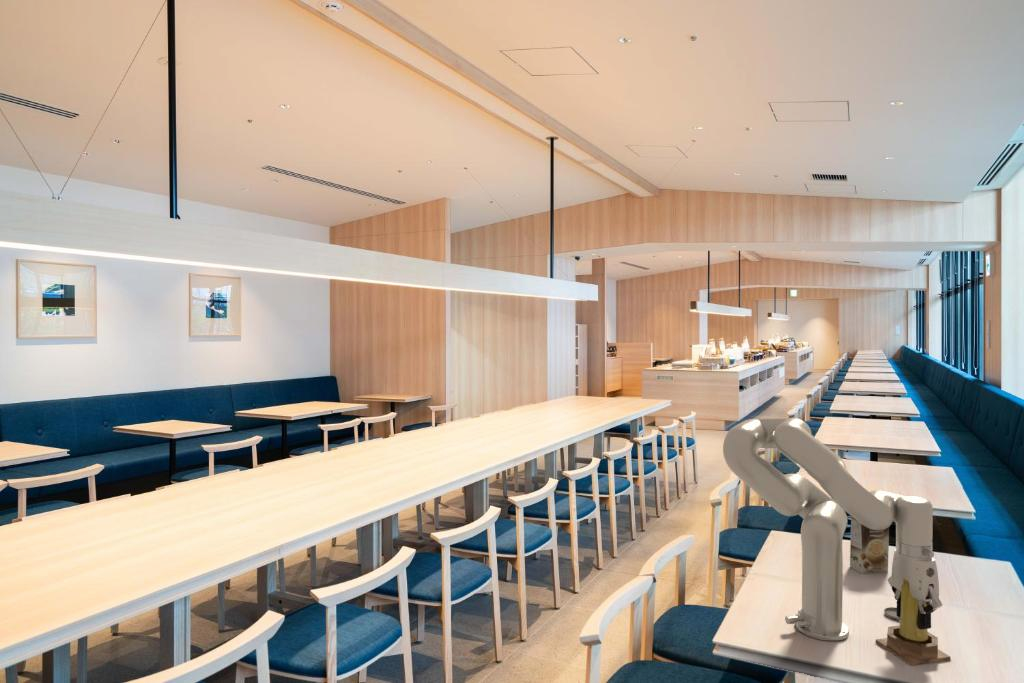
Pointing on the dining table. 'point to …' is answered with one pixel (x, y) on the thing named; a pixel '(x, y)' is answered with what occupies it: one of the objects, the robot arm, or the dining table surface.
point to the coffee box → (868, 548)
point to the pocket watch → (891, 612)
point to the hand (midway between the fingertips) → (913, 621)
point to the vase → (910, 616)
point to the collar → (912, 648)
